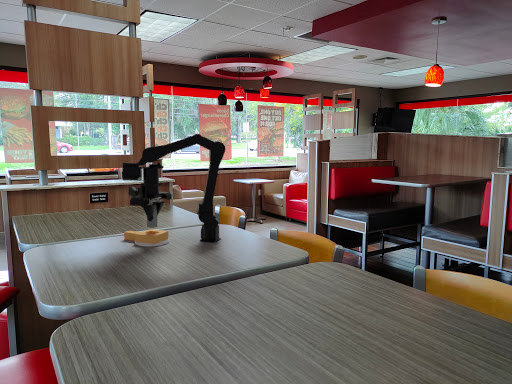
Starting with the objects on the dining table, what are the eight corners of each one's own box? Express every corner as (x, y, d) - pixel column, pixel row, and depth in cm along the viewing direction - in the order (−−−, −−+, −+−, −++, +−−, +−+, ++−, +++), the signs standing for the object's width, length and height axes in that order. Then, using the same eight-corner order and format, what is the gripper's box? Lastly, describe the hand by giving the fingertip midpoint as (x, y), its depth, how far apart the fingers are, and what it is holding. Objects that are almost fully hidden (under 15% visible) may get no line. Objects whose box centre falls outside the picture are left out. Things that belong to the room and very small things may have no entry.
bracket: (176, 239, 149) (175, 230, 148) (156, 248, 137) (156, 238, 136) (137, 235, 155) (137, 226, 155) (115, 242, 143) (114, 232, 143)
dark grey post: (157, 226, 145) (156, 203, 143) (153, 228, 142) (153, 204, 141) (150, 226, 146) (150, 203, 145) (147, 227, 143) (146, 204, 142)
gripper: (148, 177, 153) (149, 214, 155) (116, 181, 136) (118, 223, 138) (172, 178, 149) (172, 216, 151) (142, 183, 132) (143, 226, 134)
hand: (152, 220), depth 144 cm, fingers closed on dark grey post, 2 cm apart
